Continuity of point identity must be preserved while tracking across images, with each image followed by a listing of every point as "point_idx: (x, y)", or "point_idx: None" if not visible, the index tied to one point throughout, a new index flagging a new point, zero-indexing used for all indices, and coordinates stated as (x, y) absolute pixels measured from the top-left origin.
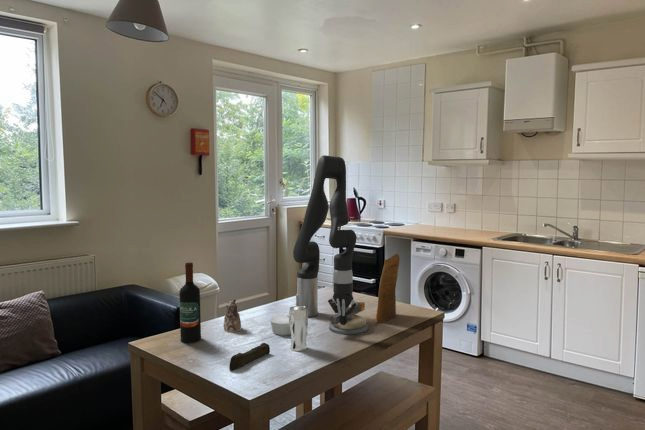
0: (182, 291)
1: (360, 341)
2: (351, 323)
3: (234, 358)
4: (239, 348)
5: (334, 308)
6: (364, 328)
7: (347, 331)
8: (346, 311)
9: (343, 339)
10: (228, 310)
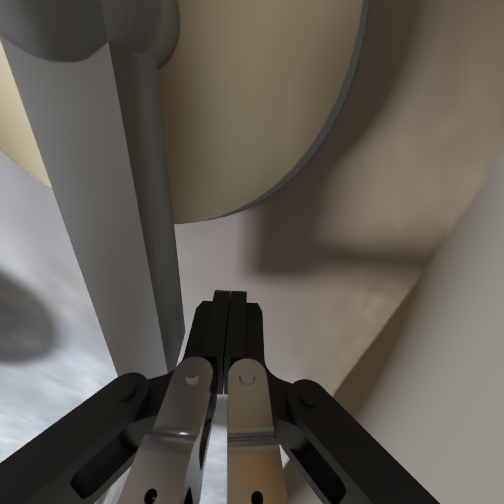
0: None
1: (354, 264)
2: (243, 164)
3: None
4: (11, 453)
5: (105, 478)
6: (350, 71)
7: (238, 210)
8: (253, 407)
9: (254, 277)
10: None
